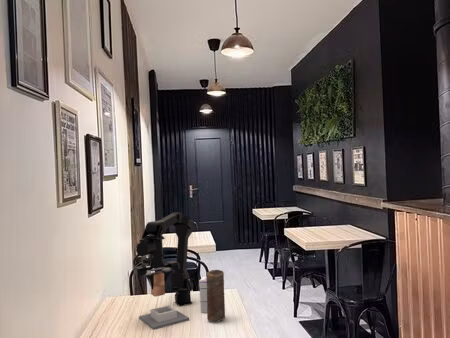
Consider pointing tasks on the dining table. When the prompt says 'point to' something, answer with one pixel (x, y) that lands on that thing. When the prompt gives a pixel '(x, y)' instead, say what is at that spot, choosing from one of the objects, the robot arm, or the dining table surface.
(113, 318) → the dining table surface
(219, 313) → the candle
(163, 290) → the peg
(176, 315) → the socket
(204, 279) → the syrup box
